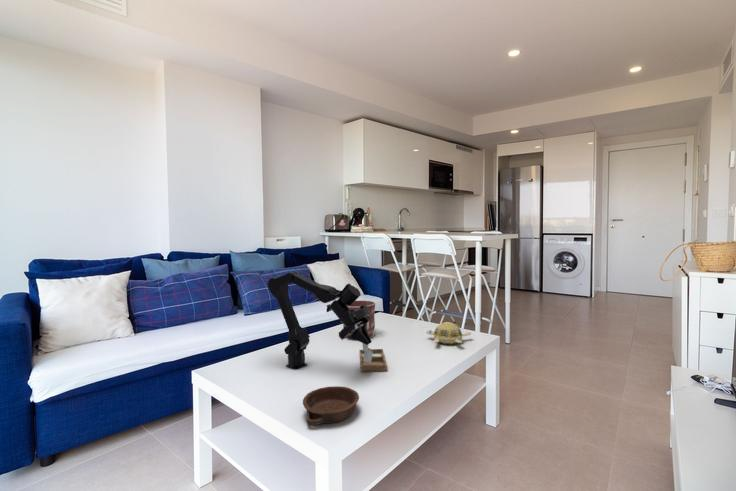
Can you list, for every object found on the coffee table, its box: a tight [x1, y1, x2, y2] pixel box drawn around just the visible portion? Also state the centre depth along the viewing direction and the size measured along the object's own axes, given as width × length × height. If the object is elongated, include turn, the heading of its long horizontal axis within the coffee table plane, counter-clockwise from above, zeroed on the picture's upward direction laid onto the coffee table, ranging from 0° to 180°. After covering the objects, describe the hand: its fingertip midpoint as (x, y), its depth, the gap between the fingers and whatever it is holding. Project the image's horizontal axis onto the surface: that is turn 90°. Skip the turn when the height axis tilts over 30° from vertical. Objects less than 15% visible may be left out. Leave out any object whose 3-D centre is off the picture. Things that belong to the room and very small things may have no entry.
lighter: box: [362, 343, 373, 363], centre depth 144 cm, size 7×2×8 cm, turn 151°
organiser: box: [359, 348, 388, 374], centre depth 158 cm, size 20×11×2 cm, turn 3°
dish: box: [302, 385, 360, 426], centre depth 116 cm, size 18×22×5 cm
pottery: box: [342, 299, 376, 341], centre depth 197 cm, size 18×18×18 cm
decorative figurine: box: [425, 321, 472, 345], centre depth 184 cm, size 26×21×10 cm
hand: (369, 343), depth 142 cm, fingers closed on lighter, 2 cm apart
